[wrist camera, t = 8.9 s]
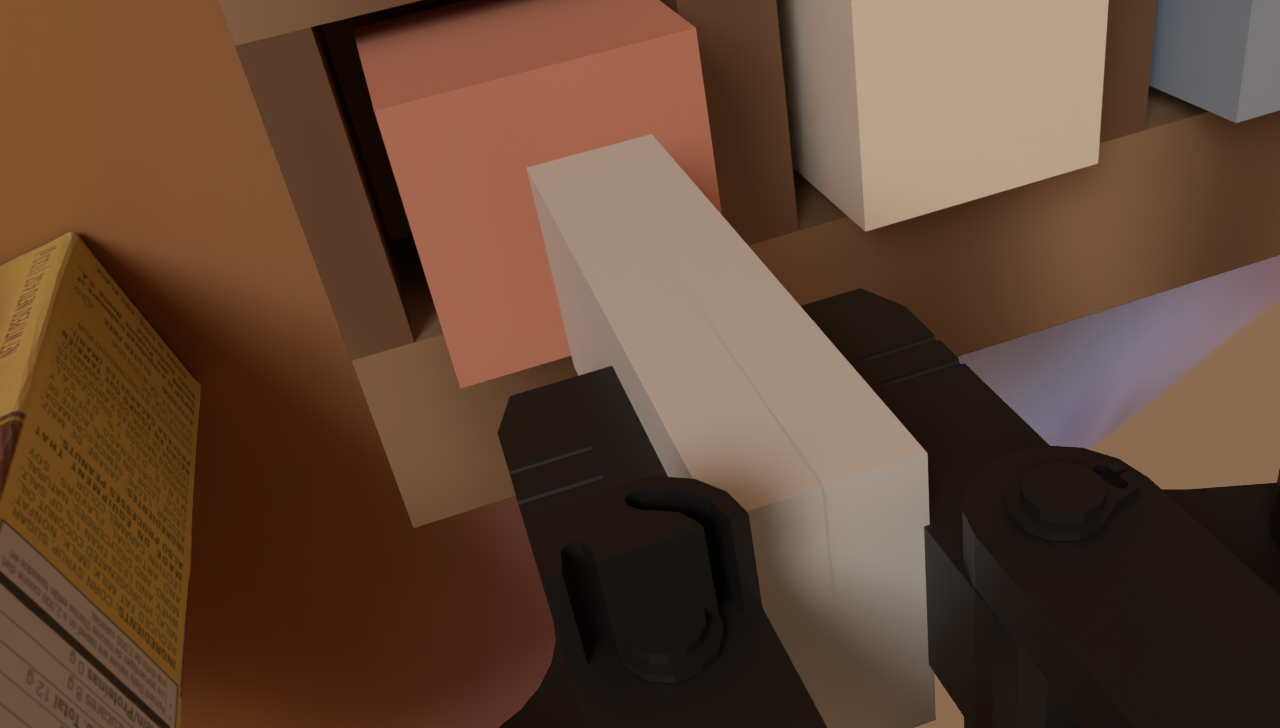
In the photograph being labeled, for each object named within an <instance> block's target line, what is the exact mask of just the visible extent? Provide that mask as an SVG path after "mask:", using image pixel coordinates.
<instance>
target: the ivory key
mask: <svg viewBox="0 0 1280 728" xmlns="http://www.w3.org/2000/svg"><path fill="white" fill-rule="evenodd" d="M776 3H777V14H778V24H779V34H780V44H781V55H782V65H783V75H784V85H785V96H786V106H787V116H788V126H789V136H790V147H791V157H792V167H793V168H794V169H795V170H796V171H797V172H798V173H799V174H801V175H802V176H803V177H804V178H805V179H806V180H807V181H809V182H810V183H811V184H812V185H813V186H814V187H815V188H816V189H818V190H819V191H820V192H821V193H822V194H823V195H824V196H825V197H827V198H828V199H829V200H830V201H831V202H832V203H833V204H835V205H836V206H837V207H838V208H839V209H840V210H841V211H842V212H844V213H845V214H846V215H847V216H848V217H849V218H850V219H852V220H853V221H854V222H855V223H856V224H857V225H858V226H859V227H861V228H862V229H863V230H864V231H865V232H866V231H870V230H873V229H876V228H880V227H883V226H887V225H890V224H893V223H897V222H900V221H904V220H907V219H911V218H914V217H917V216H921V215H924V214H928V213H931V212H934V211H938V210H941V209H945V208H948V207H951V206H955V205H958V204H962V203H965V202H968V201H972V200H975V199H979V198H982V197H986V196H989V195H992V194H996V193H999V192H1003V191H1006V190H1009V189H1013V188H1016V187H1020V186H1023V185H1026V184H1030V183H1033V182H1037V181H1040V180H1043V179H1047V178H1050V177H1054V176H1057V175H1061V174H1064V173H1067V172H1071V171H1074V170H1078V169H1081V168H1084V167H1088V166H1091V165H1095V164H1098V158H1099V142H1100V127H1101V111H1102V96H1103V80H1104V65H1105V49H1106V34H1107V18H1108V3H1109V0H776Z"/></svg>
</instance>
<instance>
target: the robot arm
mask: <svg viewBox="0 0 1280 728" xmlns="http://www.w3.org/2000/svg"><path fill="white" fill-rule="evenodd" d="M527 172H528V176H529V180H530V184H531V189H532V193H533V197H534V201H535V205H536V210H537V214H538V218H539V222H540V226H541V230H542V235H543V239H544V243H545V247H546V251H547V256H548V260H549V264H550V268H551V272H552V276H553V281H554V285H555V289H556V293H557V297H558V302H559V306H560V310H561V314H562V318H563V322H564V327H565V331H566V335H567V339H568V343H569V348H570V352H571V356H572V360H573V364H574V367H575V369H576V372H577V374H578V376H576V377H572V378H569V379H565V380H562V381H559V382H555V383H552V384H549V385H545V386H542V387H539V388H535V389H532V390H528V391H525V392H522V393H518V394H515V395H512V396H510V397H509V400H508V403H507V406H506V409H505V412H504V415H503V418H502V421H501V424H500V427H499V430H498V437H499V440H500V443H501V447H502V450H503V454H504V457H505V460H506V464H507V467H508V470H509V474H510V477H511V481H512V484H513V487H514V491H515V494H516V497H517V501H518V504H519V508H520V511H521V514H522V518H523V521H524V524H525V528H526V531H527V535H528V538H529V541H530V545H531V548H532V551H533V555H534V558H535V561H536V565H537V568H538V571H539V575H540V578H541V581H542V585H543V588H544V591H545V595H546V598H547V601H548V605H549V608H550V611H551V615H552V618H553V621H554V627H555V635H556V643H555V648H554V653H553V659H552V663H551V665H550V667H549V669H548V671H547V673H546V675H545V677H544V679H543V681H542V683H541V685H540V687H539V688H538V690H537V691H536V692H535V693H534V694H533V696H532V697H531V698H530V699H529V700H528V702H527V703H526V704H525V705H524V707H523V708H522V709H521V710H520V711H519V712H517V713H516V714H515V715H514V716H512V717H511V718H510V719H509V720H507V721H506V722H505V723H504V724H503V725H501V726H500V727H499V728H914V727H917V726H920V725H922V724H925V723H928V722H931V721H934V720H936V719H935V718H936V717H935V687H934V685H935V684H934V673H935V674H936V676H937V677H938V679H939V680H940V681H941V683H942V685H943V686H944V688H945V689H946V691H947V692H948V694H949V695H950V696H951V698H952V699H953V701H954V702H955V704H956V705H957V707H958V708H959V710H960V711H961V713H962V714H963V716H964V728H1280V470H1279V476H1278V481H1277V483H1268V484H1255V485H1242V486H1229V487H1216V488H1202V489H1189V490H1161V489H1160V488H1159V487H1158V486H1157V485H1156V484H1155V483H1154V482H1153V481H1151V480H1150V479H1149V478H1148V477H1147V476H1145V475H1143V474H1142V473H1140V472H1139V471H1137V470H1135V469H1134V468H1132V467H1131V466H1129V465H1128V464H1126V463H1124V462H1123V461H1121V460H1120V459H1118V458H1114V457H1111V456H1108V455H1104V454H1101V453H1098V452H1095V451H1091V450H1088V449H1085V448H1076V447H1060V446H1050V445H1049V444H1047V443H1046V442H1045V441H1044V440H1043V439H1042V438H1041V437H1040V436H1039V435H1038V434H1037V433H1036V432H1035V431H1034V430H1033V429H1032V428H1031V427H1030V426H1029V425H1028V424H1027V423H1026V422H1025V421H1024V420H1023V419H1022V418H1021V417H1020V416H1018V415H1017V414H1016V413H1015V412H1014V411H1013V410H1012V409H1011V408H1010V407H1009V406H1008V405H1007V404H1006V403H1005V402H1004V401H1003V400H1002V399H1001V398H1000V397H999V396H998V395H997V394H996V393H995V392H994V391H993V390H992V389H990V388H989V387H988V386H987V385H986V384H985V383H984V382H983V381H982V380H981V379H980V378H979V377H978V376H977V375H976V374H975V373H974V372H973V371H972V370H971V369H970V368H969V367H968V366H967V365H966V364H965V363H964V364H960V362H959V359H958V357H957V356H956V355H955V354H954V353H953V352H952V351H951V350H950V349H949V348H948V347H947V346H946V345H945V344H944V343H943V342H942V341H941V340H938V341H936V339H935V336H934V334H933V333H932V332H931V331H930V330H929V329H928V328H927V327H926V326H925V325H924V324H923V323H922V322H921V321H920V320H919V319H918V318H917V317H916V316H915V315H914V314H913V313H912V312H911V311H910V310H909V309H908V308H907V307H906V306H903V305H901V304H898V303H896V302H894V301H891V300H889V299H886V298H884V297H881V296H879V295H876V294H874V293H872V292H869V291H867V290H864V289H862V288H859V289H856V290H852V291H849V292H846V293H842V294H839V295H836V296H832V297H829V298H825V299H822V300H819V301H815V302H812V303H809V304H805V305H802V306H800V305H799V304H798V303H797V302H796V300H795V299H794V298H793V297H792V296H791V295H790V294H789V292H788V291H787V290H786V289H785V288H784V287H783V285H782V284H781V283H780V282H779V281H778V280H777V278H776V277H775V276H774V275H773V274H772V273H771V272H770V270H769V269H768V268H767V267H766V266H765V265H764V263H763V262H762V261H761V260H760V259H759V258H758V256H757V255H756V254H755V253H754V252H753V251H752V250H751V248H750V247H749V246H748V245H747V244H746V243H745V241H744V240H743V239H742V238H741V237H740V236H739V234H738V233H737V232H736V231H735V230H734V229H733V228H732V226H731V225H730V224H729V223H728V222H727V221H726V219H725V218H724V217H723V216H722V215H721V214H720V212H719V211H718V210H717V209H716V208H715V207H714V206H713V204H712V203H711V202H710V201H709V200H708V199H707V197H706V196H705V195H704V194H703V193H702V192H701V190H700V189H699V188H698V187H697V186H696V185H695V184H694V182H693V181H692V180H691V179H690V178H689V177H688V175H687V174H686V173H685V172H684V171H683V170H682V168H681V167H680V166H679V165H678V164H677V163H676V162H675V160H674V159H673V158H672V157H671V156H670V155H669V153H668V152H667V151H666V150H665V149H664V148H663V146H662V145H661V144H660V143H659V142H658V141H657V140H656V138H655V137H654V136H653V135H652V134H650V135H646V136H643V137H639V138H635V139H632V140H628V141H624V142H620V143H617V144H613V145H609V146H605V147H602V148H598V149H594V150H590V151H587V152H583V153H579V154H575V155H572V156H568V157H564V158H561V159H557V160H553V161H549V162H546V163H542V164H538V165H534V166H531V167H527Z"/></svg>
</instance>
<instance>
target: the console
mask: <svg viewBox="0 0 1280 728" xmlns="http://www.w3.org/2000/svg"><path fill="white" fill-rule="evenodd" d="M218 1H219V4H220V6H221V9H222V12H223V15H224V17H225V20H226V23H227V25H228V28H229V31H230V34H231V36H232V39H233V42H234V44H235V47H236V50H237V52H238V55H239V58H240V61H241V63H242V66H243V69H244V71H245V74H246V77H247V79H248V82H249V85H250V88H251V90H252V93H253V96H254V98H255V101H256V104H257V106H258V109H259V112H260V115H261V117H262V120H263V123H264V125H265V128H266V131H267V134H268V136H269V139H270V142H271V144H272V147H273V150H274V152H275V155H276V158H277V161H278V163H279V166H280V169H281V171H282V174H283V177H284V179H285V182H286V185H287V188H288V190H289V193H290V196H291V198H292V201H293V204H294V206H295V209H296V212H297V215H298V217H299V220H300V223H301V225H302V228H303V231H304V234H305V236H306V239H307V242H308V244H309V247H310V250H311V252H312V255H313V258H314V261H315V263H316V266H317V269H318V271H319V274H320V277H321V279H322V282H323V285H324V288H325V290H326V293H327V296H328V298H329V301H330V304H331V307H332V309H333V312H334V315H335V317H336V320H337V323H338V325H339V328H340V331H341V334H342V336H343V339H344V342H345V344H346V347H347V350H348V352H349V355H350V358H351V361H352V363H353V366H354V369H355V371H356V374H357V377H358V379H359V382H360V385H361V388H362V390H363V393H364V396H365V398H366V401H367V404H368V407H369V409H370V412H371V415H372V417H373V420H374V423H375V425H376V428H377V431H378V434H379V436H380V439H381V442H382V444H383V447H384V450H385V452H386V455H387V458H388V461H389V463H390V466H391V469H392V471H393V474H394V477H395V479H396V482H397V485H398V488H399V490H400V493H401V496H402V498H403V501H404V504H405V507H406V509H407V512H408V515H409V517H410V520H411V523H412V525H413V528H416V527H419V526H422V525H425V524H428V523H432V522H435V521H438V520H441V519H444V518H447V517H451V516H454V515H457V514H460V513H463V512H466V511H470V510H473V509H476V508H479V507H482V506H486V505H489V504H492V503H495V502H498V501H501V500H505V499H508V498H511V497H514V496H516V494H515V491H514V487H513V484H512V481H511V477H510V474H509V470H508V467H507V464H506V460H505V457H504V454H503V450H502V447H501V443H500V440H499V437H498V430H499V427H500V424H501V421H502V418H503V415H504V412H505V409H506V406H507V403H508V400H509V397H510V396H512V395H515V394H518V393H522V392H525V391H528V390H532V389H535V388H539V387H542V386H545V385H549V384H552V383H555V382H559V381H562V380H565V379H569V378H572V377H576V376H578V374H577V372H576V369H575V367H574V364H573V360H572V356H568V357H565V358H561V359H558V360H555V361H551V362H548V363H545V364H541V365H538V366H535V367H531V368H528V369H525V370H521V371H518V372H515V373H511V374H508V375H505V376H501V377H498V378H494V379H491V380H488V381H484V382H481V383H478V384H474V385H471V386H468V387H464V388H461V389H460V386H459V382H458V379H457V376H456V373H455V370H454V366H453V363H452V360H451V357H450V353H449V350H448V347H447V344H446V341H445V337H444V334H443V331H442V328H441V324H440V321H439V318H438V315H437V312H436V308H435V305H434V302H433V299H432V295H431V292H430V289H429V286H428V283H427V279H426V276H425V273H424V270H423V267H422V263H421V260H420V257H419V254H418V250H417V247H416V244H415V241H414V238H413V234H412V231H411V228H410V225H409V221H408V218H407V215H406V212H405V209H404V205H403V202H402V199H401V196H400V192H399V189H398V186H397V183H396V180H395V176H394V173H393V170H392V167H391V164H390V160H389V157H388V154H387V151H386V147H385V144H384V141H383V138H382V135H381V131H380V128H379V125H378V122H377V118H376V115H375V112H374V108H373V105H372V101H371V97H370V93H369V90H368V86H367V82H366V78H365V74H364V71H363V67H362V63H361V59H360V55H359V52H358V48H357V44H356V40H355V37H354V33H353V29H352V28H354V27H358V26H363V25H367V24H371V23H375V22H379V21H383V20H387V19H391V18H395V17H399V16H403V15H407V14H411V13H415V12H420V11H424V10H428V9H432V8H436V7H440V6H444V5H448V4H452V3H456V2H460V1H464V0H218ZM660 1H661V2H662V3H664V4H665V5H666V6H668V7H669V8H670V9H672V10H673V11H674V12H676V13H677V14H678V15H680V16H681V17H682V18H683V19H685V20H686V21H687V22H689V23H690V24H691V25H693V26H694V27H695V28H696V32H697V39H698V46H699V54H700V61H701V68H702V75H703V82H704V90H705V97H706V104H707V111H708V118H709V126H710V133H711V140H712V147H713V154H714V162H715V169H716V176H717V183H718V191H719V198H720V205H721V212H722V216H723V217H724V218H725V219H726V221H727V222H728V223H729V224H730V225H731V226H732V228H733V229H734V230H735V231H736V232H737V233H738V234H739V236H740V237H741V238H742V239H743V240H744V241H745V243H746V244H747V245H748V246H749V247H750V248H751V250H752V251H753V252H754V253H755V254H756V255H757V256H758V258H759V259H760V260H761V261H762V262H763V263H764V265H765V266H766V267H767V268H768V269H769V270H770V272H771V273H772V274H773V275H774V276H775V277H776V278H777V280H778V281H779V282H780V283H781V284H782V285H783V287H784V288H785V289H786V290H787V291H788V292H789V294H790V295H791V296H792V297H793V298H794V299H795V300H796V302H797V303H798V304H799V305H800V306H802V305H805V304H809V303H812V302H815V301H819V300H822V299H825V298H829V297H832V296H836V295H839V294H842V293H846V292H849V291H852V290H856V289H859V288H862V289H864V290H867V291H869V292H872V293H874V294H876V295H879V296H881V297H884V298H886V299H889V300H891V301H894V302H896V303H898V304H901V305H903V306H906V307H907V308H908V309H909V310H910V311H911V312H912V313H913V314H914V315H915V316H916V317H917V318H918V319H919V320H920V321H921V322H922V323H923V324H924V325H925V326H926V327H927V328H928V329H929V330H930V331H931V332H932V333H933V334H934V336H935V339H936V341H938V340H941V341H942V342H943V343H944V344H945V345H946V346H947V347H948V348H949V349H950V350H951V351H952V352H953V353H954V354H955V355H956V356H957V357H958V356H961V355H964V354H967V353H970V352H974V351H977V350H980V349H983V348H986V347H989V346H993V345H996V344H999V343H1002V342H1005V341H1008V340H1012V339H1015V338H1018V337H1021V336H1024V335H1027V334H1031V333H1034V332H1037V331H1040V330H1043V329H1046V328H1050V327H1053V326H1056V325H1059V324H1062V323H1065V322H1069V321H1072V320H1075V319H1078V318H1081V317H1084V316H1088V315H1091V314H1094V313H1097V312H1100V311H1103V310H1107V309H1110V308H1113V307H1116V306H1119V305H1122V304H1126V303H1129V302H1132V301H1135V300H1138V299H1141V298H1145V297H1148V296H1151V295H1154V294H1157V293H1160V292H1164V291H1167V290H1170V289H1173V288H1176V287H1179V286H1183V285H1186V284H1189V283H1192V282H1195V281H1199V280H1202V279H1205V278H1208V277H1211V276H1214V275H1218V274H1221V273H1224V272H1227V271H1230V270H1233V269H1237V268H1240V267H1243V266H1246V265H1249V264H1252V263H1256V262H1259V261H1262V260H1265V259H1268V258H1271V257H1275V256H1278V255H1280V110H1279V111H1276V112H1272V113H1269V114H1265V115H1262V116H1259V117H1255V118H1252V119H1248V120H1245V121H1242V122H1238V123H1235V122H1232V121H1230V120H1228V119H1225V118H1223V117H1221V116H1218V115H1216V114H1214V113H1212V112H1209V111H1207V110H1205V109H1202V108H1200V107H1198V106H1195V105H1193V104H1191V103H1188V102H1186V101H1184V100H1182V99H1179V98H1177V97H1175V96H1172V95H1170V94H1168V93H1165V92H1163V91H1161V90H1159V89H1156V88H1154V87H1152V86H1149V78H1150V67H1151V55H1152V44H1153V33H1154V21H1155V10H1156V0H1109V3H1108V18H1107V34H1106V49H1105V65H1104V80H1103V96H1102V111H1101V127H1100V142H1099V158H1098V164H1095V165H1091V166H1088V167H1084V168H1081V169H1078V170H1074V171H1071V172H1067V173H1064V174H1061V175H1057V176H1054V177H1050V178H1047V179H1043V180H1040V181H1037V182H1033V183H1030V184H1026V185H1023V186H1020V187H1016V188H1013V189H1009V190H1006V191H1003V192H999V193H996V194H992V195H989V196H986V197H982V198H979V199H975V200H972V201H968V202H965V203H962V204H958V205H955V206H951V207H948V208H945V209H941V210H938V211H934V212H931V213H928V214H924V215H921V216H917V217H914V218H911V219H907V220H904V221H900V222H897V223H893V224H890V225H887V226H883V227H880V228H876V229H873V230H870V231H866V232H865V231H864V230H863V229H862V228H861V227H859V226H858V225H857V224H856V223H855V222H854V221H853V220H852V219H850V218H849V217H848V216H847V215H846V214H845V213H844V212H842V211H841V210H840V209H839V208H838V207H837V206H836V205H835V204H833V203H832V202H831V201H830V200H829V199H828V198H827V197H825V196H824V195H823V194H822V193H821V192H820V191H819V190H818V189H816V188H815V187H814V186H813V185H812V184H811V183H810V182H809V181H807V180H806V179H805V178H804V177H803V176H802V175H801V174H799V173H798V172H797V171H796V170H795V169H794V168H793V167H792V157H791V147H790V136H789V126H788V116H787V106H786V96H785V85H784V75H783V65H782V55H781V44H780V34H779V24H778V14H777V3H776V0H660Z"/></svg>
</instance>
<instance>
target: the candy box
mask: <svg viewBox="0 0 1280 728" xmlns="http://www.w3.org/2000/svg"><path fill="white" fill-rule="evenodd" d="M200 397H201V385H200V384H199V383H198V382H197V381H196V380H195V379H194V378H193V377H192V376H191V374H190V373H189V372H188V371H187V370H186V368H185V367H184V366H183V365H182V363H181V362H180V361H179V360H178V358H177V357H176V356H175V355H174V354H173V352H172V351H171V350H170V349H169V348H168V346H167V345H166V344H165V343H164V341H163V340H162V339H161V338H160V337H159V335H158V334H157V333H156V332H155V330H154V329H153V328H152V327H151V325H150V324H149V323H148V322H147V320H146V319H145V318H144V317H143V315H142V314H141V313H140V312H139V311H138V309H137V308H136V307H135V306H134V304H133V303H132V302H131V301H130V300H129V298H128V297H127V296H126V295H125V293H124V292H123V291H122V290H121V288H120V287H119V286H118V285H117V283H116V282H115V281H114V280H113V278H112V277H111V276H110V275H109V273H108V272H107V271H106V270H105V268H104V267H103V265H102V264H101V263H100V262H99V260H98V259H97V258H96V257H95V255H94V254H93V253H92V251H91V250H90V249H89V247H88V246H87V245H86V244H85V243H84V241H83V240H82V239H81V238H80V237H79V235H78V234H76V233H74V232H69V233H66V234H64V235H62V236H60V237H59V238H57V239H55V240H53V241H51V242H49V243H47V244H45V245H43V246H41V247H39V248H37V249H35V250H32V251H30V252H28V253H26V254H24V255H21V256H19V257H17V258H15V259H13V260H11V261H9V262H7V263H5V264H3V265H2V266H0V728H181V713H182V681H183V665H184V650H185V638H186V613H187V604H188V585H189V579H190V571H191V548H192V530H191V529H192V523H193V521H192V511H193V493H194V477H195V469H196V449H197V433H198V422H199V410H200Z"/></svg>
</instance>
